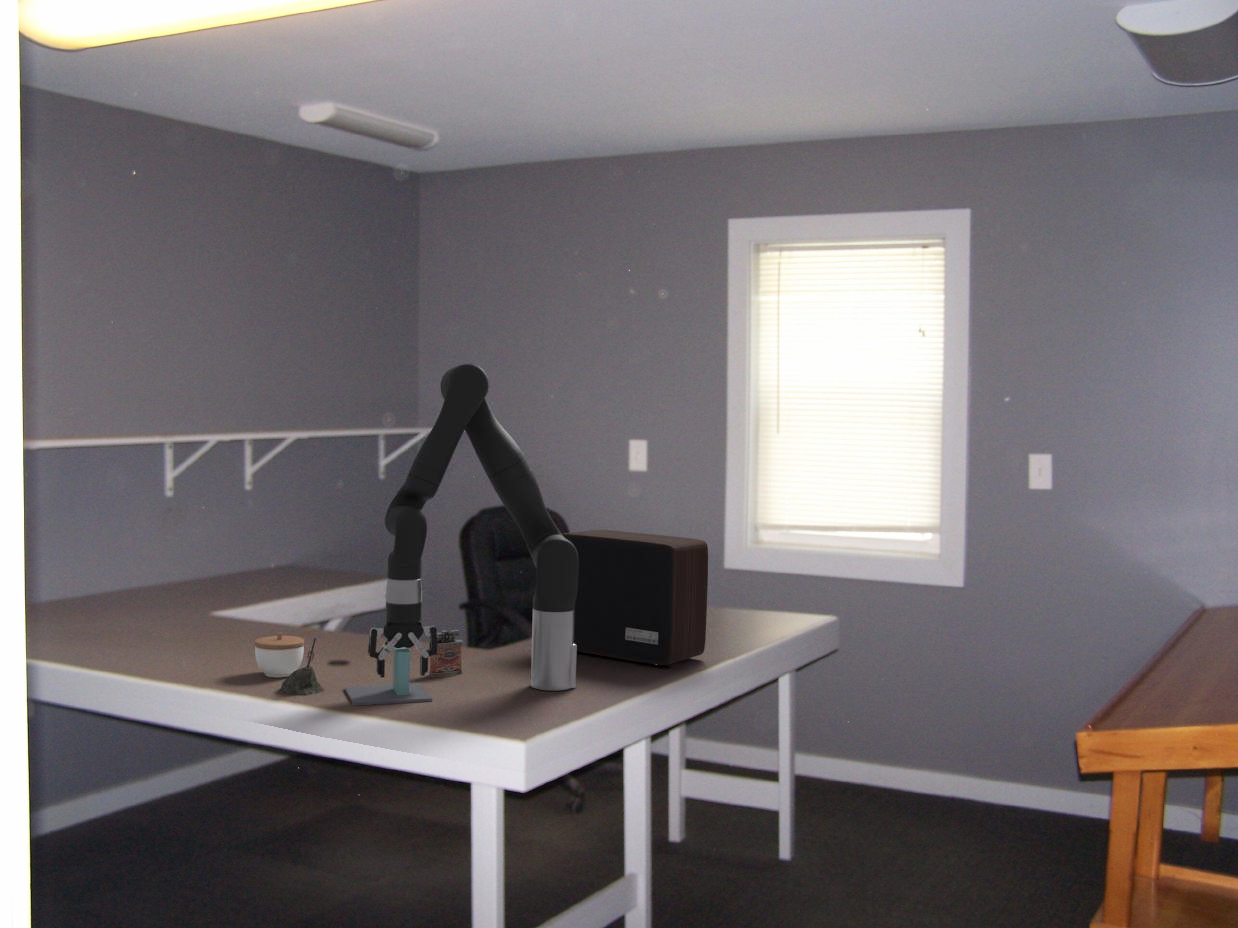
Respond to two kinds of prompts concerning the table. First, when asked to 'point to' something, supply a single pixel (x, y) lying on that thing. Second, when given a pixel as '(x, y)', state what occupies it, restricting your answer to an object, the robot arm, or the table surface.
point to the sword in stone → (302, 680)
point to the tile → (401, 671)
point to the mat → (385, 695)
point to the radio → (640, 596)
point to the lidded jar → (279, 654)
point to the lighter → (447, 655)
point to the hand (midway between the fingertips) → (402, 675)
